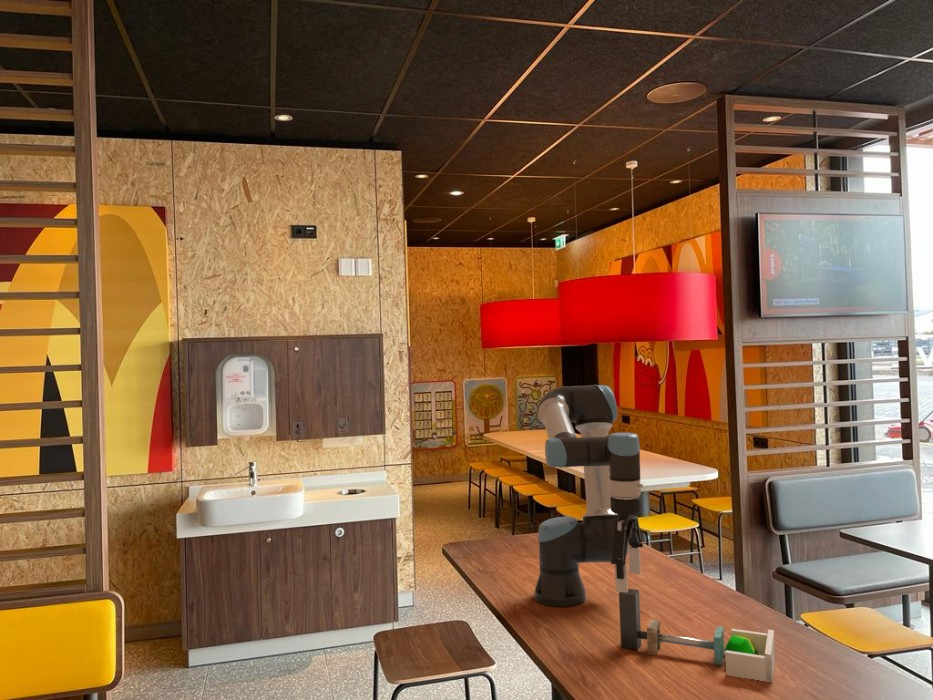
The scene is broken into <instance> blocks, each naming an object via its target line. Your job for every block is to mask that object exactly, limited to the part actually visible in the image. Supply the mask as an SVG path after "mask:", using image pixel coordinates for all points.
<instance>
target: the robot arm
mask: <svg viewBox="0 0 933 700" xmlns="http://www.w3.org/2000/svg"><path fill="white" fill-rule="evenodd" d="M617 408H618V407H617V401H616V397H615V395H614V392H613V390H612V389H611V387H610V386H608V385H604V384H600V385H598V384H588V385H587V384H586V385H571V386H570V385H569V386H568V385H565V386H564V385H563V386H558V387H554V388H553V389H551V390H550V391H548V392H546V393H545V394H544V395H543V396H542V398H540V400H539V403H538V405H537V415H538V418H539V421H540V422H541V424H543V425H544V427H545V431H546V434H547V437H548V438H547V439H546V441H545V444H544V456H545V463H546V465H547V467H550V468H560V469H562V468H573V467H574V468H576V467H583V473H584V474H583V475H584V487H585V489H584V490H585V499H586V501H585V502H586V511H585V513H584V514H583V515H582V521H581V522H578V520H577V518H576V517H574V516H558V517H553V518H548V519H547V520H545V521H542V522H541V523H540V524H539V527H538V537H537V541H538V550H539V551H538V554H539V556H538V558H539V559H538V560H539V561H538V562H539V574H538V578H537V580H536V585H535V589H534V599H535V600H536V602H537V603H539V604H542V605H545V606H549V607H556V608H557V607H558V608H559V607H562V608H563V607H573V606H578V605H580V604H583V603H584V602H585V601H586V599H587V597H586V594H587V593H586V589H585V586H584V582H583V580H582V577H581V574H580V569H579V564H581V563H586V564H590V563H610V565H614V577H615V578H614V579H615V592H626V593H627V592H628V589H629V587H628V573H629V574H634V575H641V574H642V572H641V553H640V552H641V548H643V547H644V543H643V542H642V534H641V530H640V524H639V523H640V522H639V514H640V513H642V511H643V510H642V509H643V507H642V498H641V497H640V496H641V495H642V490H641V489H643V487H644V484H643V483H641V457H640V456H641V452H640V451H641V446H640V439H639V438H640V437H639V436H638V434H636V433H633V432H614V433H610V434H609V431H610V430H611V428H612V427H614V425H613V422H616V421H617V418H618V412H617V410H618V409H617ZM572 423H574V424H575V425H574V427H575V429H576V430H577V431H578V432H579V433H580V437H577V434H576V432H575V429H574V427H573V425H572ZM627 555H628V556H627ZM627 557H628V565H627V563H626V562H627ZM628 570H629V572H628Z"/></svg>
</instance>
